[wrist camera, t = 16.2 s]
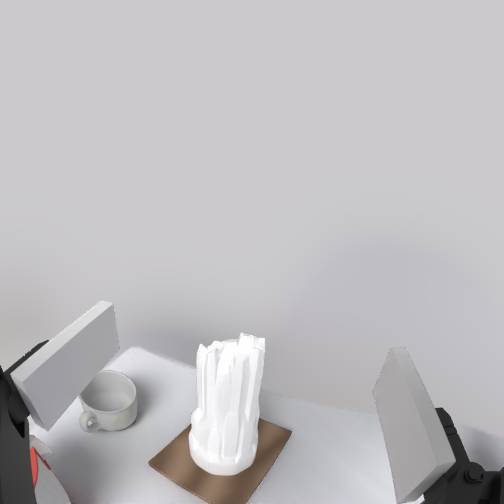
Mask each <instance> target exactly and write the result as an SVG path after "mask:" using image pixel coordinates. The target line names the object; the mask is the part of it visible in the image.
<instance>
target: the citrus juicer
mask: <svg viewBox="0 0 504 504" xmlns="http://www.w3.org/2000/svg"><path fill="white" fill-rule="evenodd" d="M29 441H30V456H31V467H32V476H33V483H34V490H35V496H36V501H37V504H71V502H70V500H69V497H68V495H67V493H66V491H65V489H64V488H63V486H62V485H61V483H60V481H59V480H58V479H57V477H56V476H55V474H54V473H53V472H52V471H51V468H50V467H49V465H48V464H47V462H46V461H45V460H46V459H47V458H49V457H50V456H52V455H54V453H53V452H52V450H51V449H50V448H49V447H48V446H47V445H46V444H45V443H43V442H42V441H41V440H39V439H38V438H36V437H35V436H34V435H29Z"/></svg>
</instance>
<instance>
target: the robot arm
mask: <svg viewBox="0 0 504 504" xmlns="http://www.w3.org/2000/svg"><path fill="white" fill-rule="evenodd" d="M119 349H120V346H119V340H118V334H117V328H116V320H115V313H114V305H113V303H109V302H105V301H100V302H98V303H97V304H96V305H95V306H93V307H92V308H91V309H90V310H88V311H87V312H85V313H84V314H83V315H82V316H80V317H79V318H78V319H76V320H75V321H74V322H73V323H71V324H70V325H69V326H67V327H66V328H65V329H64V330H62V331H61V332H60V333H59V334H57V335H56V336H55V337H54V338H52V339H51V340H50V341H49V340H47V341H44V342H42V343H40V344H38V345H37V346H35V347H34V348H33V349H32V350H31V351H29V352H28V353H27V354H25V356H23V357H22V358H21V359H19V360H18V361H17V362H16V363H15V364H13V365H12V366H11V367H10V368H9V369H7V370H6V371H5V372H3V370H2V368H1V366H0V504H37V501H36V496H35V490H34V483H33V476H32V467H31V456H30V441H29V422H28V419H27V417H28V416H29V415H31V416H32V418H33V420H34V422H35V423H36V424H37V425H39V426H40V427H42V428H43V429H45V430H46V431H49V430H50V428H51V427H52V426H53V425H54V424H55V422H56V421H57V420H58V419H59V418H60V416H61V415H62V414H63V413H64V412H65V411H66V409H67V408H68V407H69V406H70V405H71V404H72V402H73V401H74V400H75V399H76V398H77V397H78V395H79V394H80V393H81V392H82V391H83V390H84V389H85V387H86V386H87V385H88V384H89V383H90V382H91V381H92V379H93V378H94V377H95V376H96V375H97V374H98V373H99V372H100V370H101V369H102V368H103V367H104V366H105V365H106V364H107V363H108V361H109V360H110V359H111V358H112V357H113V356H114V355H115V354H116V353H117V351H118V350H119ZM373 395H374V399H375V403H376V406H377V410H378V414H379V418H380V422H381V426H382V431H383V435H384V439H385V444H386V448H387V453H388V458H389V462H390V467H391V472H392V478H393V483H394V489H395V494H396V500H397V504H401V503H407V502H412V501H415V500H417V499H418V498H419V497H420V496H421V495H422V494H424V499H425V500H424V501H423V502H422V503H421V504H504V467H503V468H502V469H501V470H500V471H485V470H484V469H483V468H482V466H481V465H479V464H477V463H474V462H470V461H469V459H468V456H467V454H466V451H465V449H464V447H463V444H462V442H461V439H460V437H459V435H458V434H457V430H456V428H455V427H454V424H453V421H452V419H451V417H450V415H449V414H448V413H447V412H446V411H445V410H444V409H443V408H434V406H433V403H432V401H431V399H430V397H429V395H428V393H427V390H426V388H425V386H424V384H423V382H422V380H421V378H420V376H419V374H418V372H417V370H416V368H415V366H414V364H413V362H412V360H411V358H410V356H409V354H408V352H407V350H406V348H402V347H391V348H390V351H389V353H388V356H387V358H386V361H385V364H384V366H383V368H382V371H381V373H380V375H379V378H378V380H377V382H376V385H375V387H374V389H373Z"/></svg>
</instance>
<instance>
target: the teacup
mask: <svg viewBox="0 0 504 504" xmlns="http://www.w3.org/2000/svg"><path fill="white" fill-rule="evenodd" d="M78 396H79V399H80V400H81V403H82V406H83V409H84V411H85V412H83V413H82V415H81V416H80V421H79V423H80V427H81V428H82V429H83V430H84V431H86V432H89V433H91V432H95V431H96V430H101V429H104V430H108V431H119V430H122V429H125V428H127V427H129V426H130V425H131V424H132V423H133V422H134V421H135V419H136V416H137V412H138V404H137V390H136V386H135V384H134V383H133V381H132V380H131V379H130V378H129V377H127V376H126V375H124V374H122V373H119V372H116V371H111V370H100V372H99V373H98V374H97V375H96V376H95V377H94V378H93V379H92V381H91V382H90V383H89V384H88V385H87V386H86V387H85V389H84V390H83V391H82V392H81V393H80V394H79V395H78ZM89 420H90V421H91V422H92V423H93V424H91V425H90V426H88V421H89Z"/></svg>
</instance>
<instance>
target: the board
mask: <svg viewBox="0 0 504 504" xmlns="http://www.w3.org/2000/svg"><path fill="white" fill-rule="evenodd" d="M257 428H258V446H257V451H256V457H255V460H254V462H253V464H252V465H251V466H250V467H248V468H247V469H245V470H243V471H242V472H240V473H238V474H236V475H229V476H223V475H214V474H211V473H208V472H207V471H205V470H204V469H202V468H201V467H199V466H198V465H197V464H196V463H195V461H194V460H193V458H192V457H191V454H190V447H189V433H190V431H191V429H192V423H191V424H190V425H189V426H188V427H187V428H186V429H185V430H184V431H183V432H182V433H181V434H179V435H178V436H177V437H176V438H175V439H174V440H173V441H172V442H171V443H170V444H168V445H167V446H166V447H165V448H164V449H163V450H162V451H161V452H159V453H158V454H157V455H156V456H155V457H154V458H152V459H151V460H150V461H149V462H148V463H149V466H151V467H152V468H154V469H155V470H156V471H158V472H159V473H161V474H162V475H164V476H165V477H167V478H168V479H170V480H171V481H173V482H174V483H176V484H177V485H179V486H181V487H182V488H184V489H186V490H187V491H189V492H190V493H192V494H194V495H196V496H197V497H199V498H201V499H203V500H204V501H206V502H208V503H210V504H245V503H246V502H247V501H248V499H249V498H250V497H251V495H252V494H253V492H254V491H255V490H256V488H257V487H258V485H259V484H260V483H261V481H262V480H263V478H264V477H265V475H266V474H267V472H268V471H269V469H270V468H271V466H272V465H273V463H274V461H275V460H276V458H277V457H278V455H279V454H280V452H281V450H282V449H283V447H284V446H285V444H286V442H287V441H288V439H289V437H290V436H291V433H292V431H290V430H287V429H284V428H282V427H279V426H277V425H274V424H272V423H269V422H267V421H264V420H262V419H260V418H259V420H258V425H257Z"/></svg>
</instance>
